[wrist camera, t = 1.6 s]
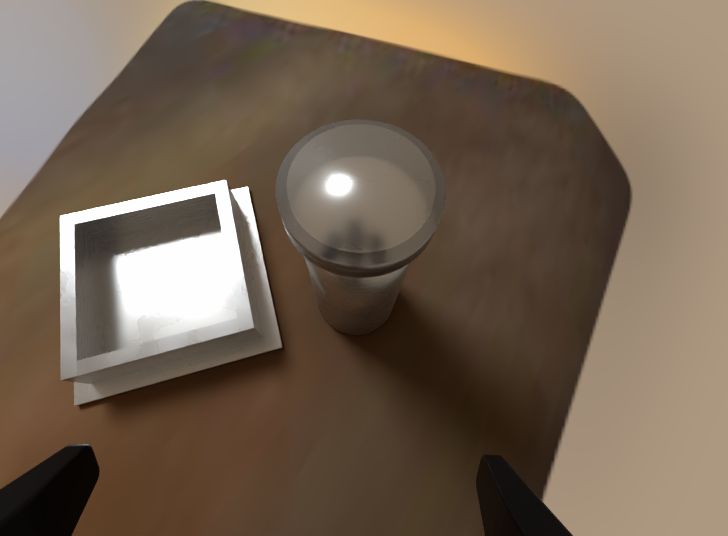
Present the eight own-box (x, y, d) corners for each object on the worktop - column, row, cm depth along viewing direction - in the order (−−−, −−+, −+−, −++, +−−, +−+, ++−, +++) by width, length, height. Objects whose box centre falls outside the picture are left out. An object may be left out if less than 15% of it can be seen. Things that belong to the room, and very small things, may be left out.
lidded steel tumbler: (417, 291, 25) (479, 173, 13) (362, 360, 23) (376, 298, 11) (349, 241, 26) (349, 90, 14) (293, 303, 24) (237, 191, 12)
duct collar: (282, 348, 23) (274, 339, 21) (77, 405, 22) (40, 404, 19) (248, 188, 28) (238, 165, 25) (74, 227, 26) (43, 206, 23)
